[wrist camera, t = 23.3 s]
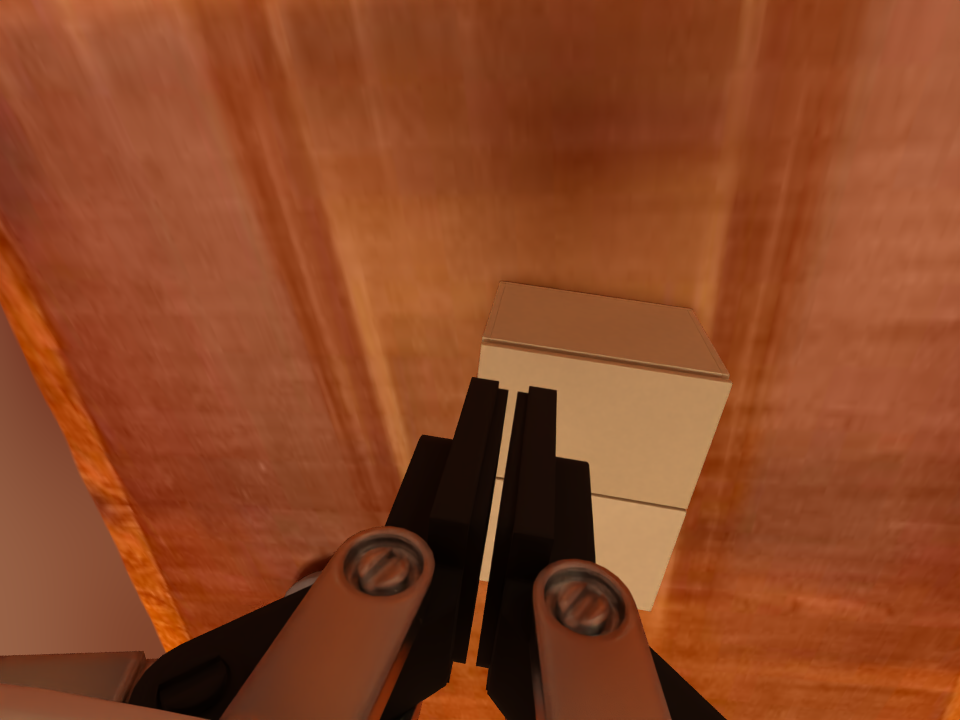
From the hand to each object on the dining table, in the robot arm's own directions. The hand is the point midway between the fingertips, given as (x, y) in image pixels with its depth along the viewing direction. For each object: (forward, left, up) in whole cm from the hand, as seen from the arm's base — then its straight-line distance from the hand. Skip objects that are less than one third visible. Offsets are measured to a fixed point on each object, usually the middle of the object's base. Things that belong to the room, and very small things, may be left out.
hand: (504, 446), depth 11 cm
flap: (+7, +8, -17) cm, 20 cm away
